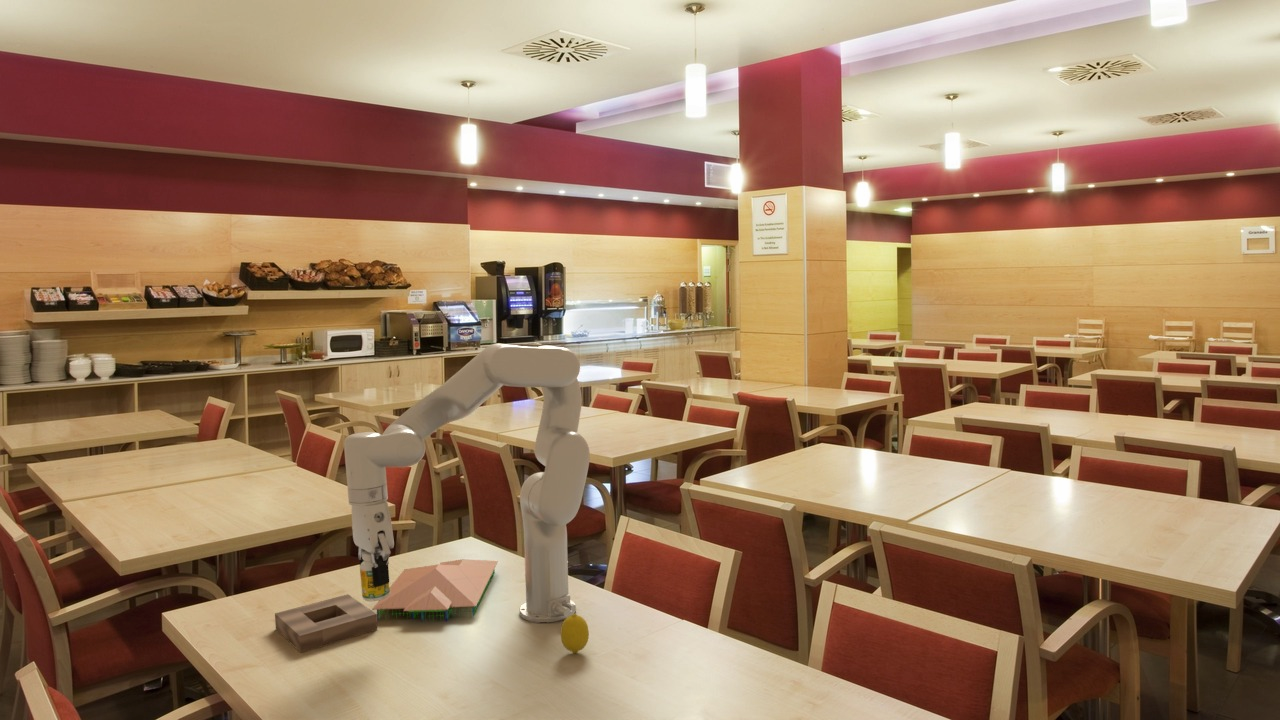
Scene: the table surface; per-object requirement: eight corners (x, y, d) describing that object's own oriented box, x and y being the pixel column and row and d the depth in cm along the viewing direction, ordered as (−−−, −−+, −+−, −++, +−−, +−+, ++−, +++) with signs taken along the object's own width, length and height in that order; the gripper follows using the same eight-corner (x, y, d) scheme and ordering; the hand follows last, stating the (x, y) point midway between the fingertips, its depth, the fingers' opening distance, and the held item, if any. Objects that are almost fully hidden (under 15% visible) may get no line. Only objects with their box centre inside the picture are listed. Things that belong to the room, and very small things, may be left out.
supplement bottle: (385, 589, 166) (382, 545, 165) (393, 597, 162) (389, 551, 161) (359, 596, 163) (355, 550, 162) (366, 604, 159) (362, 557, 158)
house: (368, 628, 173) (367, 592, 173) (409, 575, 206) (408, 545, 205) (474, 625, 174) (472, 589, 173) (498, 573, 206) (497, 542, 206)
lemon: (593, 649, 160) (592, 610, 159) (582, 661, 154) (581, 621, 154) (568, 645, 161) (567, 607, 161) (556, 657, 156) (555, 617, 156)
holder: (377, 629, 171) (376, 613, 171) (300, 652, 161) (299, 635, 161) (348, 609, 183) (347, 594, 183) (275, 629, 173) (274, 613, 173)
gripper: (404, 497, 156) (411, 586, 158) (368, 483, 169) (375, 566, 171) (366, 505, 152) (374, 597, 153) (333, 491, 164) (340, 576, 166)
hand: (375, 580), depth 162 cm, fingers closed on supplement bottle, 5 cm apart
